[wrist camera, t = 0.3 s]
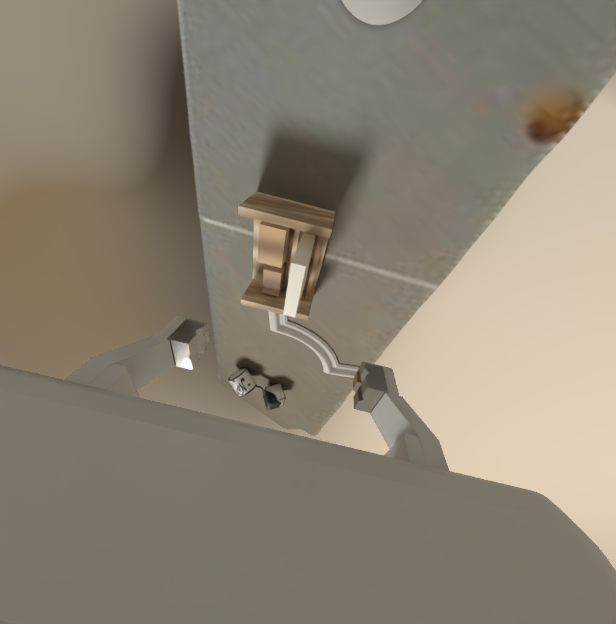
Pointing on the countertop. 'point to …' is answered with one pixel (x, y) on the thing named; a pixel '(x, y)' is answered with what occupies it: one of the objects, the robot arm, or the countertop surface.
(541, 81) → the countertop surface
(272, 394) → the patterned dumbbell
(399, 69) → the countertop surface
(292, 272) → the white square panel
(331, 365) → the molding
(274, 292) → the walnut offcut
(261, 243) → the oak offcut
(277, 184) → the countertop surface
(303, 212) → the offcut rack
